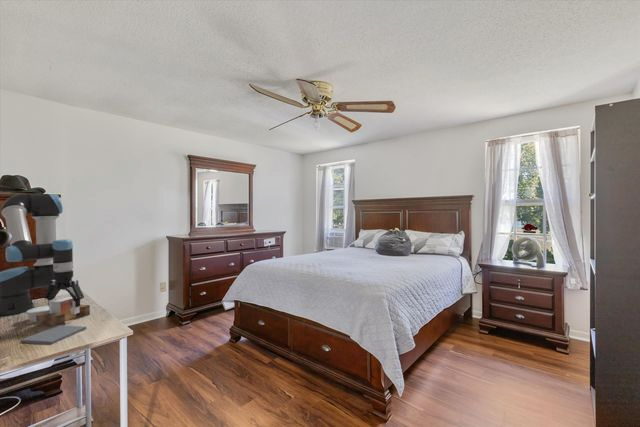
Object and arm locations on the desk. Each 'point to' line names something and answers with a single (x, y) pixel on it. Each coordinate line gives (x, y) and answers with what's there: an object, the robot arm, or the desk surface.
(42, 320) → the walnut crossbar stand
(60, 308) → the small box
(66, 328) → the slate grey mat
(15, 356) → the desk surface
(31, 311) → the ramekin
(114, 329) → the desk surface
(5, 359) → the desk surface
